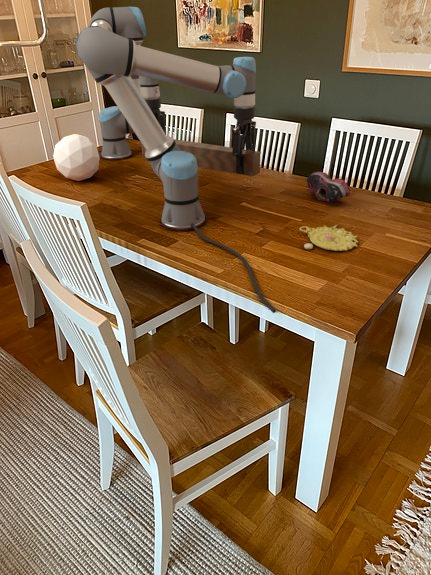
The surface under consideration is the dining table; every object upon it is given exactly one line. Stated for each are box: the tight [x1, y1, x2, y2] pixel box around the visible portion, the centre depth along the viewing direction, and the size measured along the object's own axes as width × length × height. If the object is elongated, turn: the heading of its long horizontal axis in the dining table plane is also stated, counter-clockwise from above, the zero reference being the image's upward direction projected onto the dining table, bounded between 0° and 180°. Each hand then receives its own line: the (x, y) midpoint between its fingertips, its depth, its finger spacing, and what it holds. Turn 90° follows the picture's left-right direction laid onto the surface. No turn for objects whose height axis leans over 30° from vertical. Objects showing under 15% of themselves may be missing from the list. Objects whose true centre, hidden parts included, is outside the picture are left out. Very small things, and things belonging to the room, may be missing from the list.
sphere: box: [52, 133, 101, 182], centre depth 194 cm, size 19×20×20 cm
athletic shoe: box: [304, 171, 351, 203], centre depth 169 cm, size 11×22×12 cm
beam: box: [140, 138, 262, 178], centre depth 177 cm, size 54×5×8 cm, turn 57°
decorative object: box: [299, 224, 359, 252], centre depth 141 cm, size 21×2×20 cm
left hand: (156, 155), depth 189 cm, fingers closed on beam, 5 cm apart
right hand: (243, 171), depth 168 cm, fingers closed on beam, 5 cm apart
